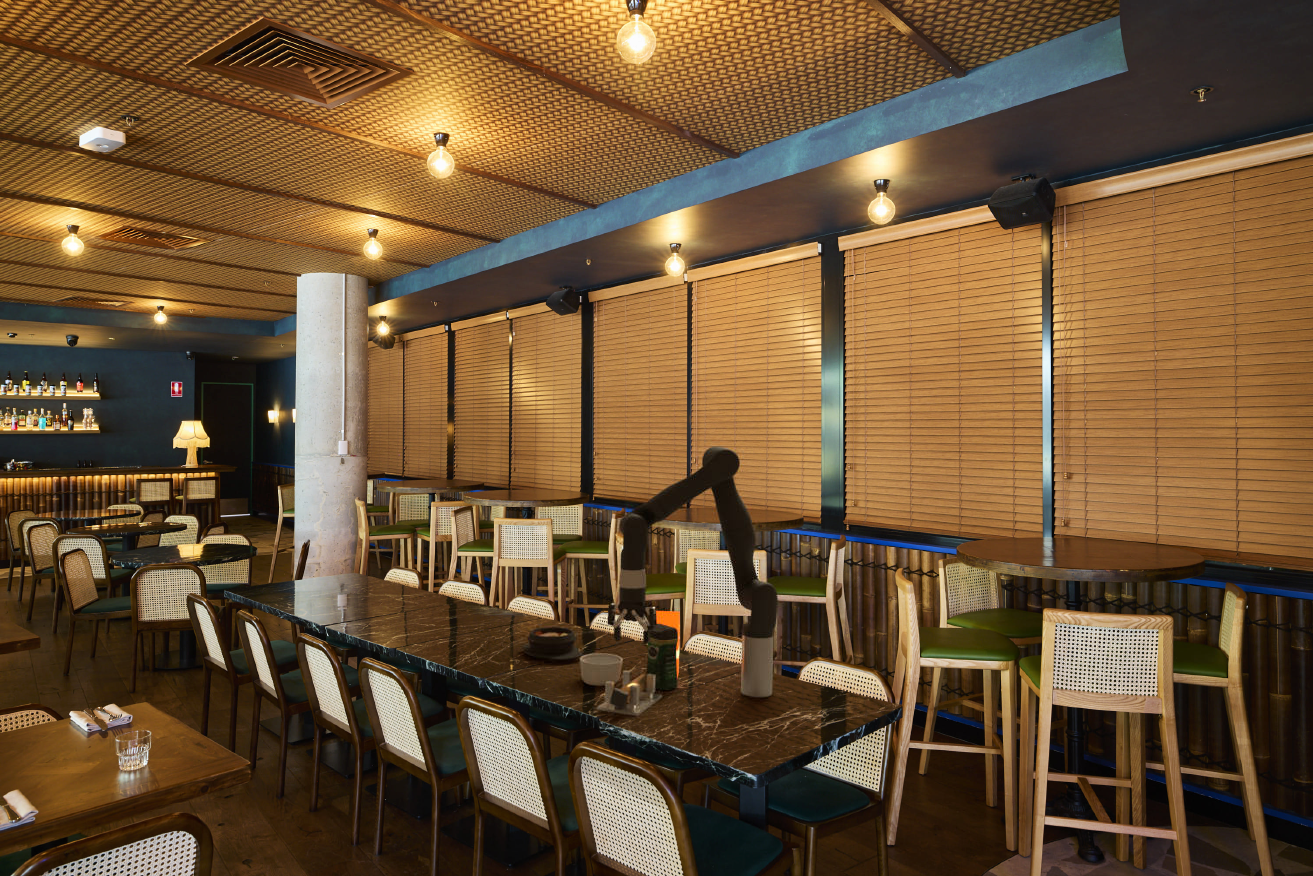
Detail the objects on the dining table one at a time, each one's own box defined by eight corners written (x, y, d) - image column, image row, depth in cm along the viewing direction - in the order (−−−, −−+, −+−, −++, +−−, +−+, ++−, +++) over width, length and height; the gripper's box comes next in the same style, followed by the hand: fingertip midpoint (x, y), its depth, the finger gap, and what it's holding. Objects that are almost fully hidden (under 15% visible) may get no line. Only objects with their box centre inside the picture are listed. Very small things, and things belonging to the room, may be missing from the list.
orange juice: (678, 677, 249) (679, 614, 249) (650, 676, 249) (651, 613, 250) (678, 670, 257) (680, 609, 257) (651, 669, 257) (653, 608, 258)
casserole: (508, 653, 274) (509, 628, 275) (552, 644, 287) (552, 621, 287) (550, 668, 256) (551, 642, 256) (595, 659, 269) (596, 634, 269)
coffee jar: (681, 688, 238) (683, 626, 238) (660, 692, 233) (662, 629, 233) (662, 680, 246) (663, 620, 246) (641, 684, 241) (642, 623, 241)
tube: (636, 684, 232) (640, 671, 231) (649, 690, 230) (652, 676, 230) (609, 703, 214) (613, 689, 214) (622, 709, 213) (626, 694, 212)
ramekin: (627, 677, 248) (628, 655, 248) (614, 689, 236) (614, 666, 236) (588, 673, 252) (588, 651, 252) (572, 684, 239) (573, 661, 239)
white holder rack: (624, 691, 233) (624, 667, 233) (661, 697, 229) (662, 673, 229) (597, 709, 216) (597, 684, 217) (637, 716, 212) (637, 689, 212)
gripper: (660, 584, 224) (660, 641, 224) (615, 580, 229) (614, 636, 229) (650, 588, 217) (650, 648, 217) (604, 584, 222) (603, 642, 222)
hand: (631, 642), depth 223 cm, fingers open, 8 cm apart
